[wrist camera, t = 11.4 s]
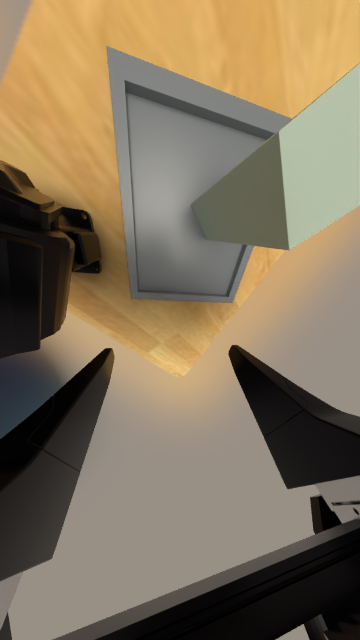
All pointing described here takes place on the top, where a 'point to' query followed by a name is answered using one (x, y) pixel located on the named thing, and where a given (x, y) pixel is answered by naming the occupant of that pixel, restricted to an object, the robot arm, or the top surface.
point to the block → (292, 177)
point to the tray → (178, 176)
